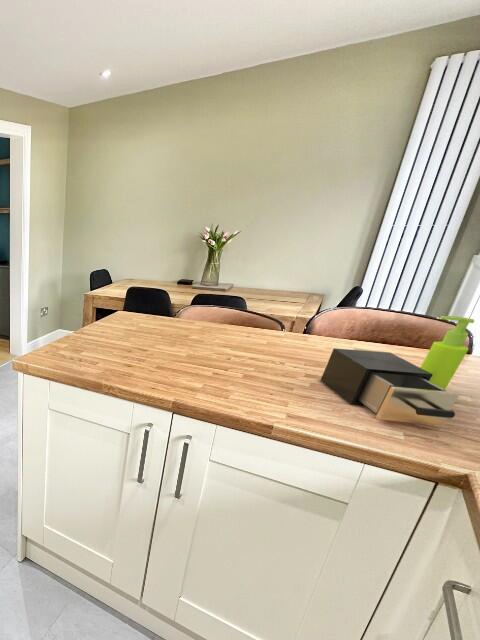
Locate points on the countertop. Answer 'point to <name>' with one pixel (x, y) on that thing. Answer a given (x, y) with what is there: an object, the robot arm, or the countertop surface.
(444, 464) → the countertop surface
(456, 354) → the soap dispenser
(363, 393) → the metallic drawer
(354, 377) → the black drawer box
